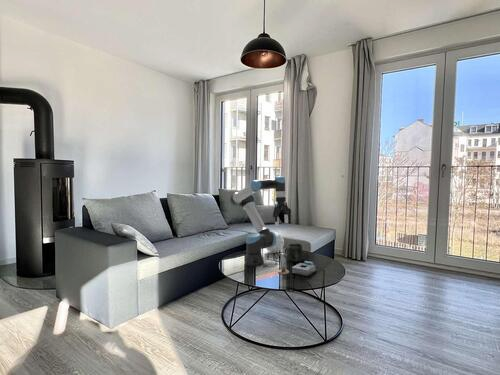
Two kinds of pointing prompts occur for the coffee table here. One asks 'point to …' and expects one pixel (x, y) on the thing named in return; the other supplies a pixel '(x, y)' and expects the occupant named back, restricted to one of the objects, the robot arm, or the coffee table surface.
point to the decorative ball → (277, 243)
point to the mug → (295, 252)
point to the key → (283, 261)
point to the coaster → (283, 272)
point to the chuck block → (304, 268)
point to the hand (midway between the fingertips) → (281, 224)
